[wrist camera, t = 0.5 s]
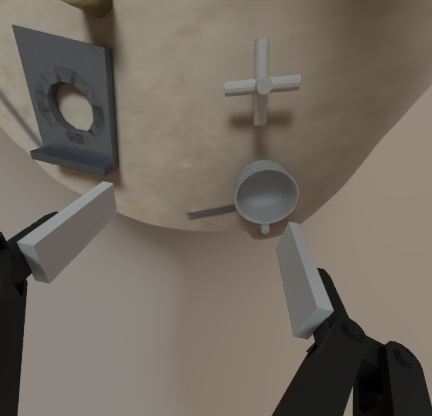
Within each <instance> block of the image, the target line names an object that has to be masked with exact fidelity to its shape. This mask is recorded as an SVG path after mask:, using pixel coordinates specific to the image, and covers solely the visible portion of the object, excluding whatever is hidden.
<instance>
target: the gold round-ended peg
mask: <svg viewBox="0 0 432 416" xmlns="http://www.w3.org/2000/svg"><path fill="white" fill-rule="evenodd" d="M61 1H63V2H65V3H68V4H70V5H72V6H74V7H76V8H78V9H80V10H83V11H85V12H87V13H89V14H91V15H93V16H96V17H104V16H105V15H107V14H108V13H109V11H110V9H111V5H112V0H61Z"/></svg>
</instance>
